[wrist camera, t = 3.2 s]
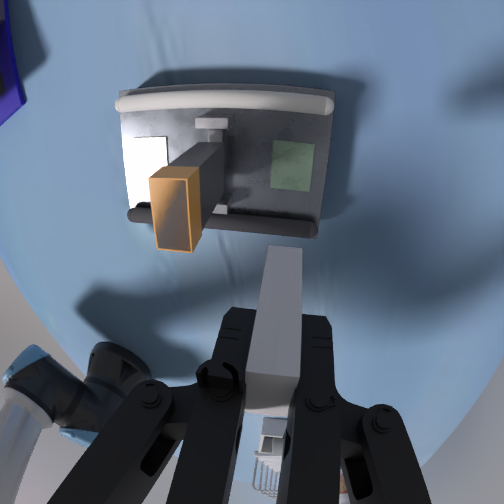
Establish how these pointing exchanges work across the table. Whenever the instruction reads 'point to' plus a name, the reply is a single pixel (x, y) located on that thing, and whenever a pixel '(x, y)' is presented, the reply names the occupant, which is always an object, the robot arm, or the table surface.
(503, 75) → the table surface
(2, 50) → the stapler
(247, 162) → the breaker panel
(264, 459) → the file sorter
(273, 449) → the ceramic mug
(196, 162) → the lever
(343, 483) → the fruit juice
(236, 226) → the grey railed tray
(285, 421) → the mug tray
